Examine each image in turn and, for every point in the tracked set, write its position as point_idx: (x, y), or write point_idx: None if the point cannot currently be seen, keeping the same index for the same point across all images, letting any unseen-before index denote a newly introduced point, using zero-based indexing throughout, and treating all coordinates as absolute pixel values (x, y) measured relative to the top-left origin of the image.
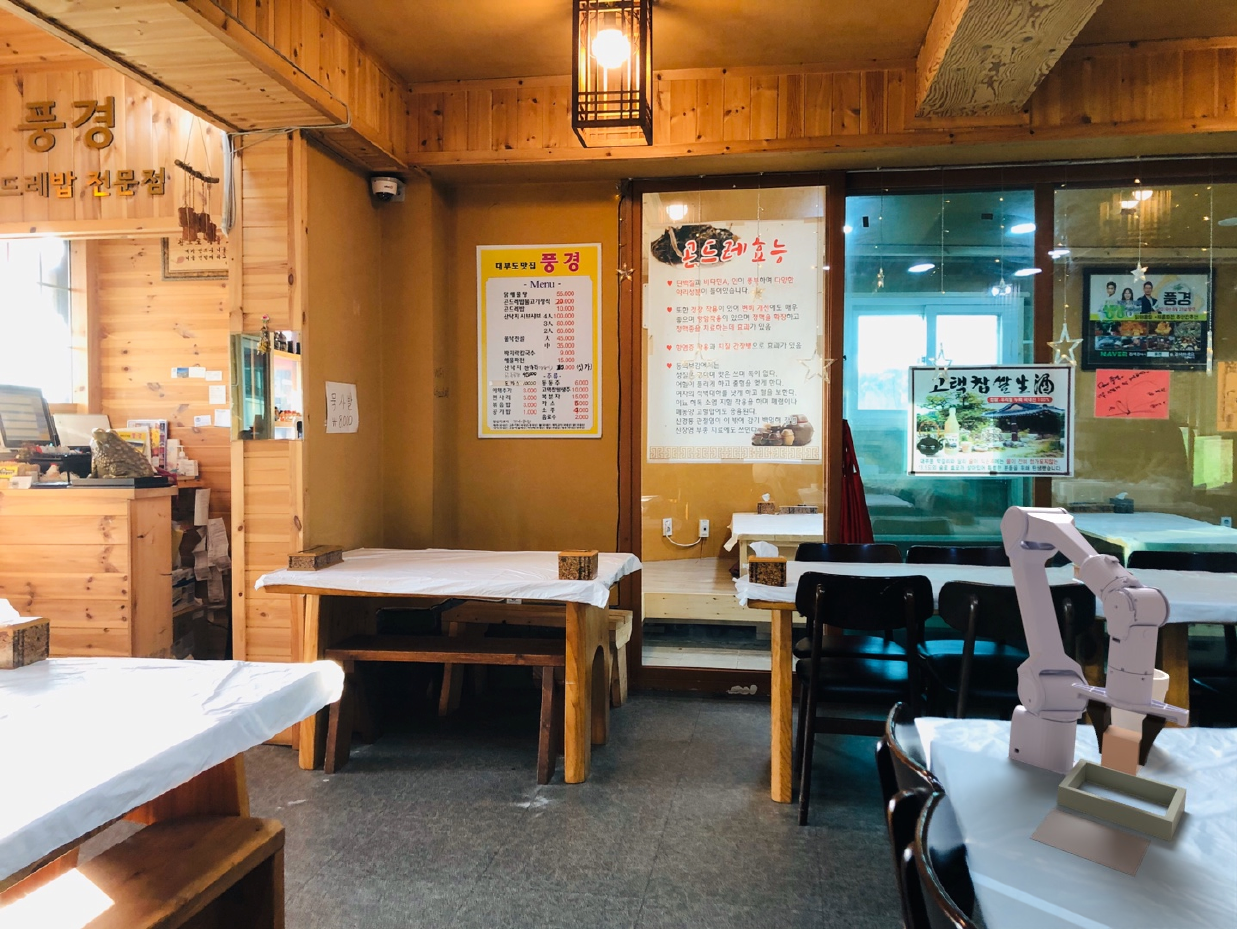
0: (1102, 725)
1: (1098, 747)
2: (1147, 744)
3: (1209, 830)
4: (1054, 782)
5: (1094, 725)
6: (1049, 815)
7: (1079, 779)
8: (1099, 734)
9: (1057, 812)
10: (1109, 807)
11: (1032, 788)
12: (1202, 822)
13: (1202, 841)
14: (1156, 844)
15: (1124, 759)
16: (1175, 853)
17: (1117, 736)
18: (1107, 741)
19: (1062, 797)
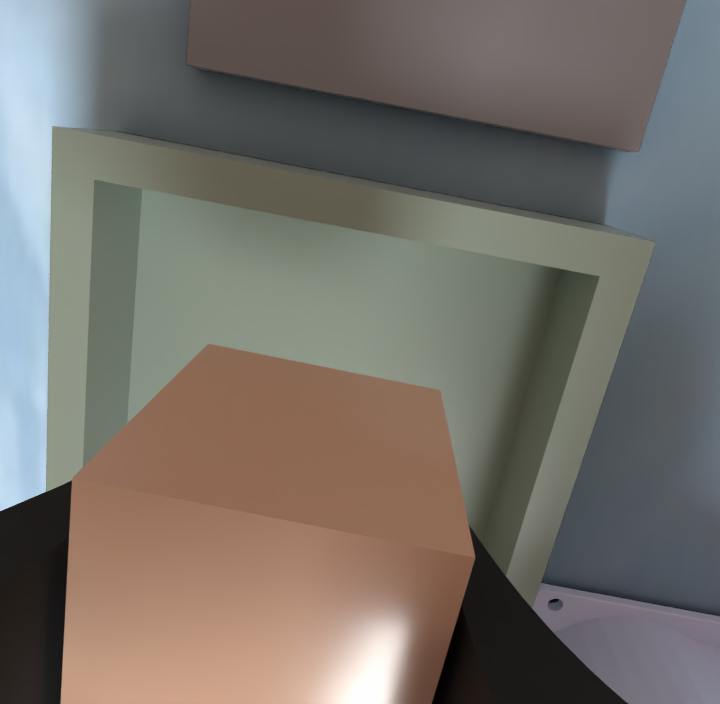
0: (500, 683)
1: (473, 533)
2: (2, 528)
3: (3, 426)
4: (590, 527)
5: (588, 681)
6: (670, 23)
7: (502, 523)
8: (498, 605)
9: (622, 101)
10: (372, 185)
11: (700, 399)
12: (32, 487)
13: (13, 295)
14: (172, 119)
15: (268, 399)
16: (94, 73)
17: (313, 540)
18: (417, 492)
19: (605, 229)
